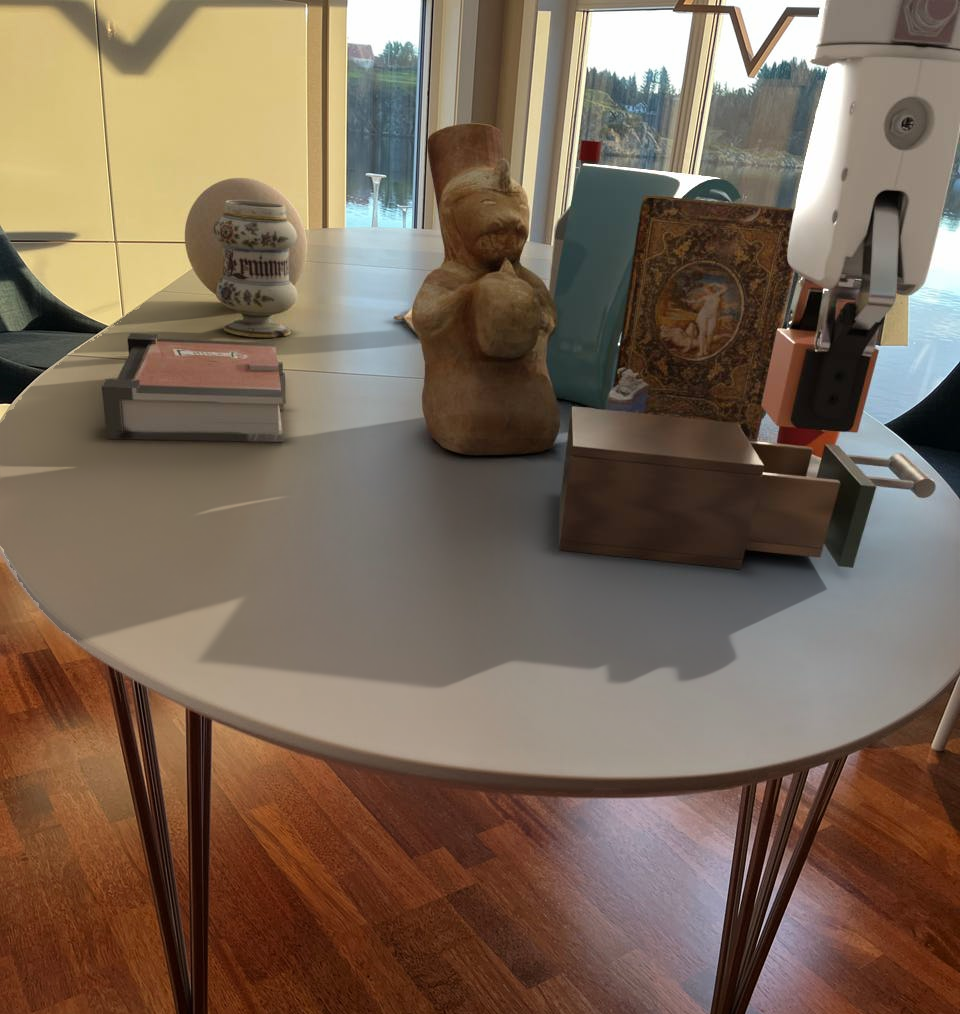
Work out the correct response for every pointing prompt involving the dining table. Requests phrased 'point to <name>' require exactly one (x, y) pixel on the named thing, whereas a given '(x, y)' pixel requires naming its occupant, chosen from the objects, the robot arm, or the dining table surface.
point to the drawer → (821, 499)
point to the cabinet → (658, 488)
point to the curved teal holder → (605, 272)
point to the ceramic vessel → (484, 307)
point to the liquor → (587, 155)
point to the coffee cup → (807, 438)
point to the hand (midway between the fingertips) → (809, 412)
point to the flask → (628, 393)
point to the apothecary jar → (255, 266)
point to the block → (797, 376)
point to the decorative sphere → (211, 206)
